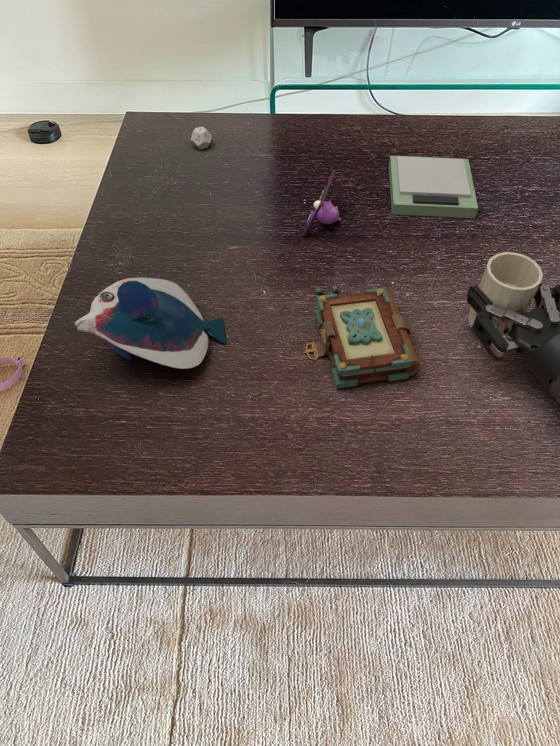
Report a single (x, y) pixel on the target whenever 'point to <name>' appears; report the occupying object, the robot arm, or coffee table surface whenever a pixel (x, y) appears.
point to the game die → (201, 137)
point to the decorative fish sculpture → (152, 322)
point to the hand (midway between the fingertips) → (494, 282)
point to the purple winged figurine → (323, 209)
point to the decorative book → (363, 337)
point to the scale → (432, 187)
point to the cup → (509, 283)
